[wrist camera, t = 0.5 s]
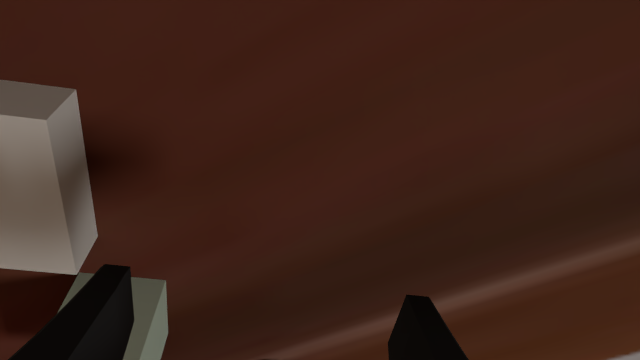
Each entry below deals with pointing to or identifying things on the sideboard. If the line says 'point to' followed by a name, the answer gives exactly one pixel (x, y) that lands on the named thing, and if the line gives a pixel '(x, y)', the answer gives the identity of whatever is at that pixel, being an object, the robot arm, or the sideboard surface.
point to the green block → (140, 316)
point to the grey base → (43, 180)
